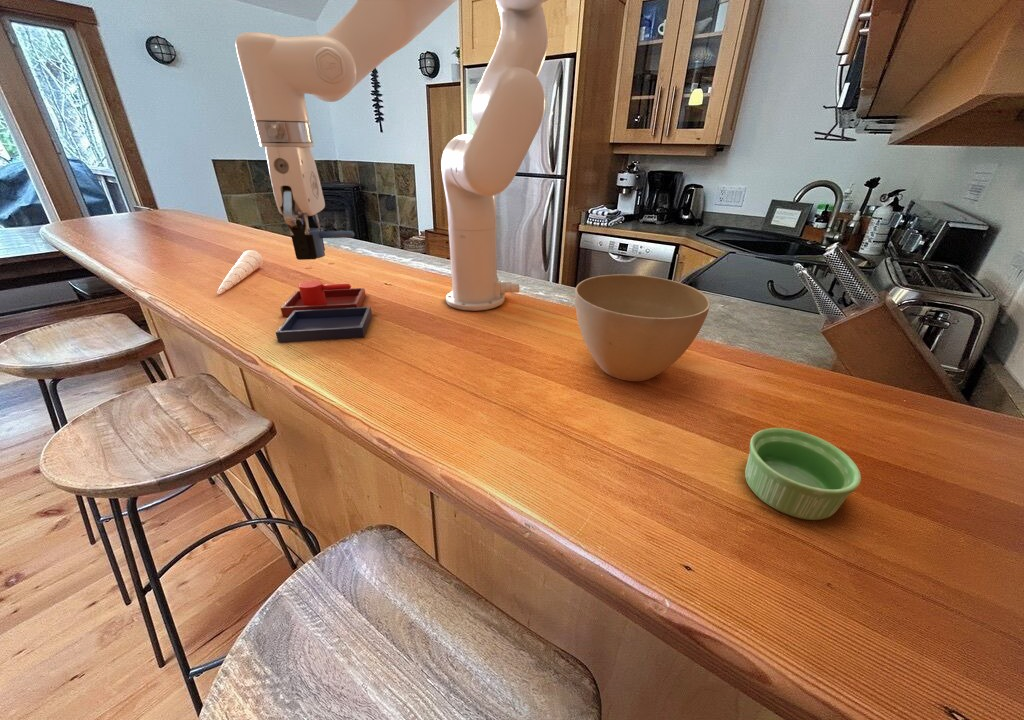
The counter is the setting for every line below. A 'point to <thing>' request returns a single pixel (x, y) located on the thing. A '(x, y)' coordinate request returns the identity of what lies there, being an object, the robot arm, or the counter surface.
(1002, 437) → the counter surface
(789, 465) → the ramekin
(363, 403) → the counter surface
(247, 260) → the unicorn horn
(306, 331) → the blue tray
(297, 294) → the red tray
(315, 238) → the blue scoop
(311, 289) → the red scoop
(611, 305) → the tan bowl
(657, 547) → the counter surface
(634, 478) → the counter surface
